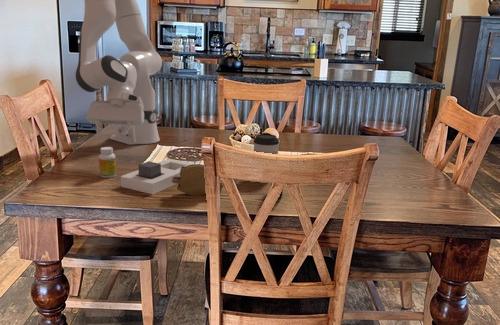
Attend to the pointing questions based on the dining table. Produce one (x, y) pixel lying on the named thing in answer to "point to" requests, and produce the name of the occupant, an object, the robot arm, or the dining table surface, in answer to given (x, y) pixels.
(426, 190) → the dining table surface
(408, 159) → the dining table surface
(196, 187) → the wooden carving
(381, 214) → the dining table surface
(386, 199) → the dining table surface
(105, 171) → the supplement bottle
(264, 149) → the coffee cup
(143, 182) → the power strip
